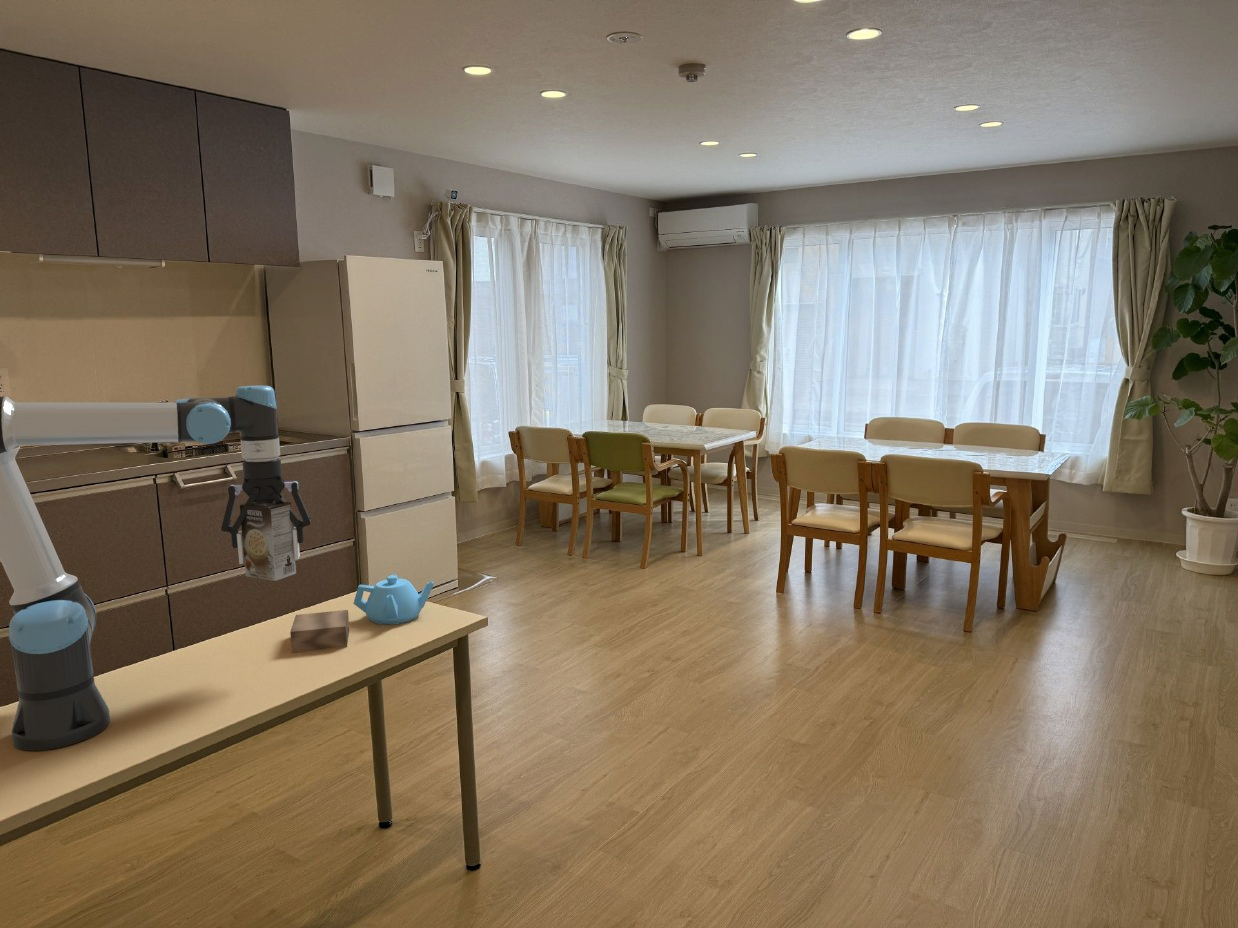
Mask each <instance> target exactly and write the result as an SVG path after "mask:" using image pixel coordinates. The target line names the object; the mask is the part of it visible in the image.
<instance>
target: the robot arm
mask: <svg viewBox="0 0 1238 928" xmlns="http://www.w3.org/2000/svg"><path fill="white" fill-rule="evenodd" d="M278 420H279V419H278V406H277V401H276V394H275V389H274V388H273V387H272V386H270V385H245V386H238V387H237V388H236V390H235V395H234V396H233V395H232V396H227V397H198V398H197V397H189V398H183V399H175V400H174V401H173V402H158V401H157V402H137V401H136V402H130V401H129V402H124V401H123V402H114V401H113V402H111V401H110V402H103V401H102V402H95V401H94V402H90V401H89V402H82V401H79V402H78V401H77V402H73V401H72V402H71V401H70V402H67V401H66V402H57V401H56V402H53V401H52V402H49V401H47V402H39V401H38V402H29V401H28V402H19V401H18V402H15V401H13V400H12V399H11V398H10V397H9V396H0V563H1V565H2V567H3V569H4V571H5V574H6V577H7V578H8V580H9V582H10V584H11V586H12V589H13V593H12V596H11V597H10V599H9V601H8V603H9V605H10V607H11V608H10V609H12V612H13V614H14V615H13V616H12V617H11V619H10V622H9V625H8V626H9V627H8V628H9V630H8V631H9V632H8V640H9V643H10V644H11V651H12V658H13V666H14V672H15V673H14V674H15V681H16V687H17V694H18V703H17V708H16V713H15V716H14V720H13V724H12V727H11V739H12V744H13V746H14V747H15V748H17V749H18V750H19V749H20V750H23V751H34V752H35V751H37V752H38V751H46V750H52V749H59V748H64V747H67V746H71V745H74V744H77V743H80V742H83V741H86V740H87V739H91V738H92V737H94V736H96V735H99V733H101V732H103V731H104V730H105V729H107V727H108V726H109V724H110V723H111V715H110V709H109V707H108V705H107V702H106V701H105V699H104V698H103V696H102V694H101V693H100V691H99V689H98V687H97V685H96V683H95V677H94V667H93V662H92V652H91V642H92V637H93V633H94V630H95V627H96V623H97V611H96V607H95V605H94V603H93V601H92V599H91V598H90V597H89V596H88V595H87V594H86V593H84V592H85V591H84V590H83V587H82V585H81V583H80V581H79V578H78V577H77V576H76V575H73V574H69V573H67V572H65V569H64V567H63V564H62V562H61V561H60V558H59V556H58V554H57V552H56V549H55V547H54V544H53V542H52V540H51V538H50V536H49V533H48V530H47V528H46V526H45V524H44V522H43V520H42V517H41V515H40V513H39V510H38V507H37V505H36V504H35V503H36V502H35V501H34V499H33V496H32V495H31V493H30V490H29V488H28V485H27V484H26V481H25V479H24V477H23V474H22V473H21V470H20V467H19V465H18V463H17V460H16V456H17V454H18V452H19V451H20V449H21V446H54V445H58V446H62V445H63V446H65V445H93V444H94V445H95V444H96V445H97V444H98V445H100V444H103V445H105V444H137V443H138V444H140V443H141V444H143V443H148V444H149V443H201V444H203V445H204V444H209V445H210V444H216V443H218V442H220V441H222V440H224V439H226V438H225V437H227V436H228V434H233V433H239V435H240V436H239V438H240V450H241V458H242V459H243V461H242V472H243V483H242V484H234V483H233V484H232V483H231V485H229V487H228V488H227V491H228V500H227V504H226V507H225V513H224V516H223V521H222V524H221V528H220V529H221V532H227V533H230V534H231V535H230V537H231V545H232V548H233V549H237V551H238V553H237V554H238V563H239V565H242V564H243V565H244V564H245V561H244V550H243V538H242V530H240V528H241V527H242V526H241V524H242V522H243V520H244V518H245V516H246V515H247V506H251V505H252V504H253V503H254V502H257V503H262V502H273V501H275V502H276V504H280V503H285V502H287V501H286V499H285V498H284V496H283V495H282V494H281V493H282V491H284V489H285V488H286V489H287V490H288V493H291V495H292V499H293V501H294V503H295V505H296V508H297V510H298V512H299V515H300V516H301V519H302V520H301V519H300V518H299V517H298V515H297V513H296V512H294V510H293V509H292V512H291V511H290V510H289V513H290V521H291V522H292V523H293V542H294V555H295V560H299V558H300V556H301V555H300V544H303V542H304V538H305V537H304V528H306V527H307V526H308V527H309V526H310V525H311V524H312V523H311V522H312V517H311V516H310V514H309V511H308V509H307V507H306V504H305V502H304V500H303V498H302V495H301V493H300V489H299V487H300V486H299V481H298V480H293V481H285V480H284V478H283V472H282V461H281V459H280V458H278V457H280V456H281V448H280V447H281V446H280V437H279V422H278ZM241 491H243V492H244V493H245V494H246V495H247V497H248V499H247V500H246V502H245V503H246V504H245V506H244V508H243V509H242V511H241V513H240V512H239V515H238V516H237V518H236V520H235V522H234V523H233V525H231V522H232V517H233V513H234V510H235V507H236V502H237V497H238V496H239V495H240V494H241ZM239 530H240V531H239Z"/></svg>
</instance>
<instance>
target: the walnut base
mask: <svg viewBox="0 0 1238 928" xmlns="http://www.w3.org/2000/svg"><path fill="white" fill-rule="evenodd" d="M349 619H350V618H349V610H348V609H342V610H341V609H340V610H332V611H322V612H320V611H319V612H311V613H310V612H309V613H302V614H295V616H294V619H293V622H292V625H291V629H290V632H289V634H290V643H291V644H290V646H291V653H292V654H294V653H301V652H310V651H311V652H312V651H320V650H321V651H322V650H331V649H339V648H348V642H349V636H350V635H349V634H350V620H349Z"/></svg>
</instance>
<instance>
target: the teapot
mask: <svg viewBox="0 0 1238 928" xmlns="http://www.w3.org/2000/svg"><path fill="white" fill-rule="evenodd" d="M433 587H434V581H427V583H426V585H425V586H424V587H423V589H422V591H421V592H420V594H419V593H418V591H417V590H416V588H415V587H414V585H413V584H412V583H411V582H410V581H409V580H408V579H405V578H399V577H398V575H397V574H396V573H394V574H393V573H392V574H391V575H388V576H386V578H385V579H383V580H381V581H378V582H377V583H376V584H375V585H366V584H359V585H358V586H357V590H356V594H355V596H354V600H353V603H352V604H353V605H355V606H356V607H357V608H358V609H360V610H361V611H362V612H364V613H365V615H366V617H367V618H368V619H369V620H370V621H371V622H372V623H374V624H377V625H386V626H387V625H388V626H389V625H399V624H404V623H408V622H411V621H413V620H415V619H416V618H417V617H418V616H419V614H420V613H421V612H422V609H424V607H425V606H426V603H427V600H428V598H429V596H430V594H431V591H432V589H433ZM365 592H367V593H369V595H368V597H367V600H365V599H363V597H364V593H365Z"/></svg>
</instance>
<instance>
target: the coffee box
mask: <svg viewBox="0 0 1238 928" xmlns="http://www.w3.org/2000/svg"><path fill="white" fill-rule="evenodd" d="M245 504H246V502H245V503H241V504H239V511H240V512H239V514H240V513H241V511H242V509H243V508H244V506H245ZM289 510H290V511H291V512H292V510H293V508H292V502H291V501H290V502H289V501H286V502H285V503H280V504H276V502H275V501H273V502H262V503H257V502H254V503H253V504H252V505H251V506H247V515H246V516H245V518H244V520H243V522H242V524H241V526H240V527H241V531H242V538H243V550H244V561H245V562H244V570H245V571H244V572H245V576H246V577H250V578H255V579H260V580H267V581H272V582H277V581H280V580H282V579H285V578H287V577H290V576H294V575H296V574H297V566H296V559H295V555H294V542H293V528H294V524H293V523H292V522H291V521H290V513H289Z"/></svg>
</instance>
